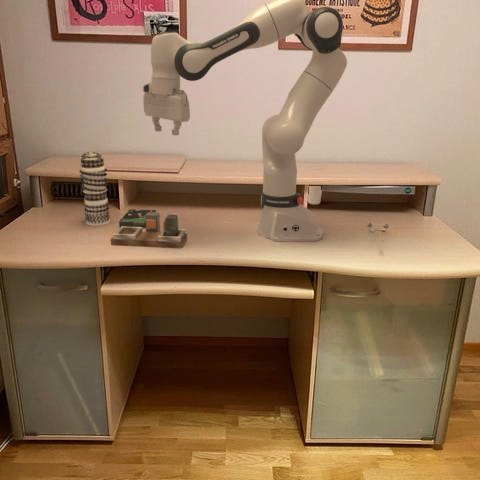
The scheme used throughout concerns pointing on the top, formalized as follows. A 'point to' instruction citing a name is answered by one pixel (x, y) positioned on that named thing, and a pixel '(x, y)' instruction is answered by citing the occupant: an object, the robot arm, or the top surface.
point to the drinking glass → (314, 191)
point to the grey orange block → (152, 222)
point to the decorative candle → (94, 188)
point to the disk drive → (135, 218)
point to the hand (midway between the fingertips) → (166, 133)
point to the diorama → (378, 230)
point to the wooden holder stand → (152, 235)
